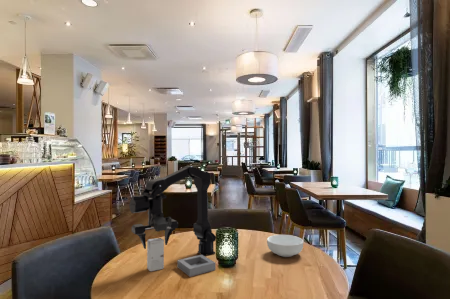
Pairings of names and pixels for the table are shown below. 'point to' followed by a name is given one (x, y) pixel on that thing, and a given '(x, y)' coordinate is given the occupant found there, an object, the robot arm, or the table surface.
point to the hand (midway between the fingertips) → (155, 246)
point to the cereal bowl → (285, 245)
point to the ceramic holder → (196, 265)
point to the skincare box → (155, 254)
